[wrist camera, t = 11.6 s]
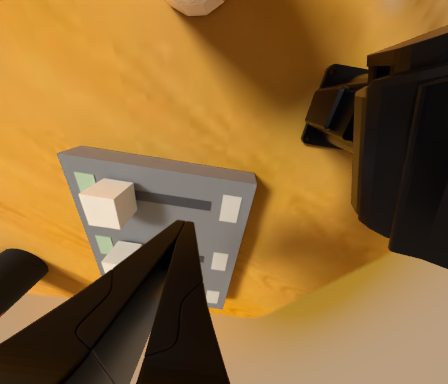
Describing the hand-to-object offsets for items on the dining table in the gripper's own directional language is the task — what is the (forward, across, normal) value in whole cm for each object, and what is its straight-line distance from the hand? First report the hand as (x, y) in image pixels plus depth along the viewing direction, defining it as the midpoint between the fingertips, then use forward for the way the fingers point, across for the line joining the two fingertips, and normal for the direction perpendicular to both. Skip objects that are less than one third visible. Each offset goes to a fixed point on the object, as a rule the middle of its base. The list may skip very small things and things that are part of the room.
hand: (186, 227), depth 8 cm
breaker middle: (+8, +9, +14) cm, 19 cm away
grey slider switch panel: (+12, +5, +14) cm, 19 cm away
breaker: (+9, +9, +5) cm, 13 cm away
